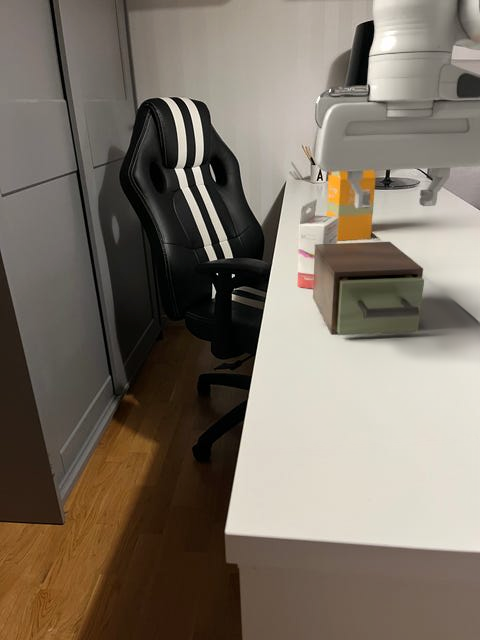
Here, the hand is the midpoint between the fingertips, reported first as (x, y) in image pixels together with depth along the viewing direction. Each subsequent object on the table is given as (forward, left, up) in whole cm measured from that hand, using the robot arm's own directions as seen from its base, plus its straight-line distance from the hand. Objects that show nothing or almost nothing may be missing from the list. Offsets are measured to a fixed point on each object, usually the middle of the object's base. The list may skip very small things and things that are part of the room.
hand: (394, 206), depth 63 cm
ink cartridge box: (+4, -26, -19) cm, 33 cm away
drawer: (0, -6, -18) cm, 19 cm away
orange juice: (-10, -59, -19) cm, 63 cm away
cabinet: (0, -11, -19) cm, 22 cm away
